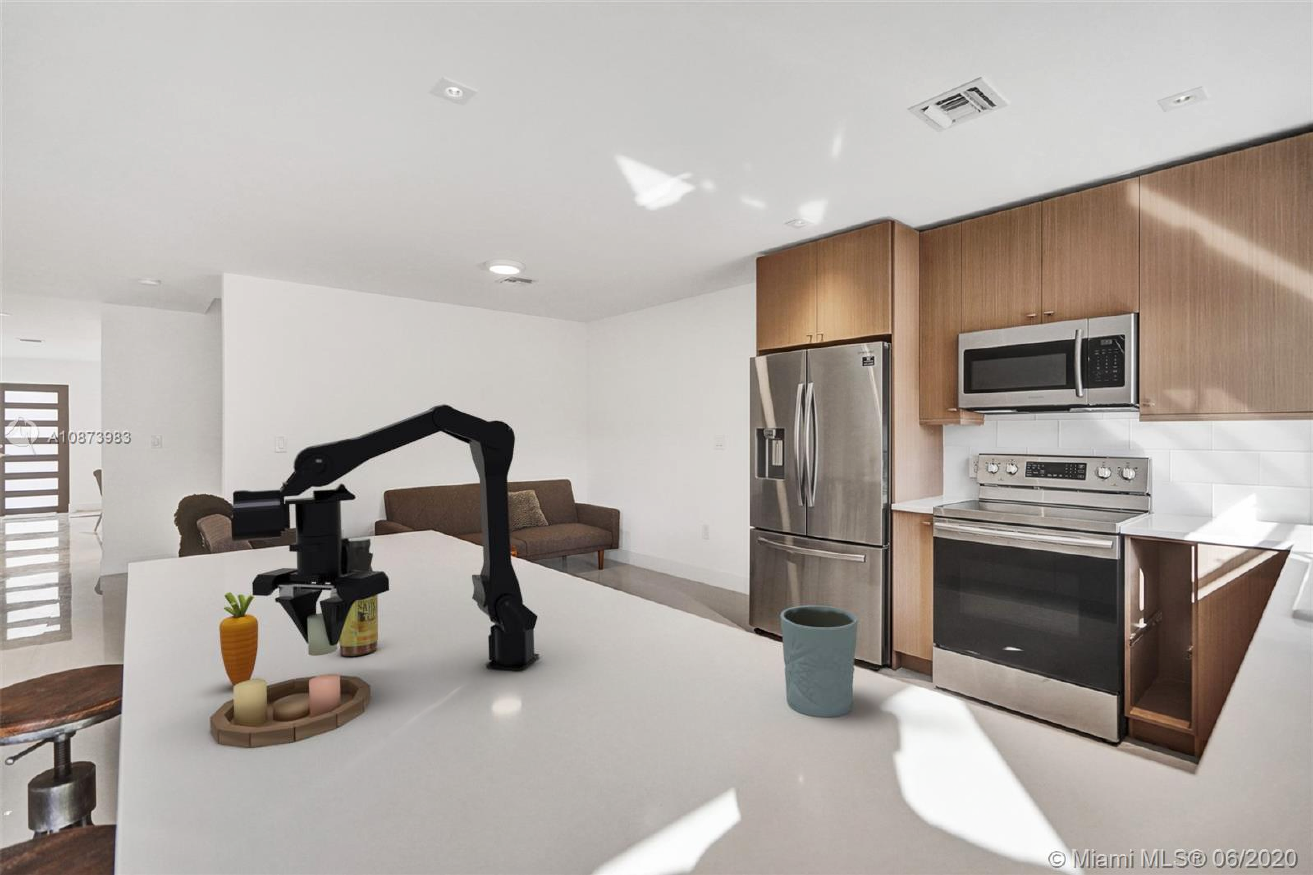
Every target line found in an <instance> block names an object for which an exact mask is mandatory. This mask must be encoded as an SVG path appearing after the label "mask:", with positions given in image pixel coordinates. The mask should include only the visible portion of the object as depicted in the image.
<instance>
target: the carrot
mask: <svg viewBox="0 0 1313 875" xmlns="http://www.w3.org/2000/svg"><path fill="white" fill-rule="evenodd" d="M254 596H255V595H253V594H249V595H248V596H247V598H246V597H245V595H244V594H238V595H237V599H238V601H237V599H236V598H235V596H234V595H233V593H232V592H231V591H230V592H226V593H225V594H224V598H225V599H226V601H227V602H228V603H229V604H230V606H231V607H230V606H224V607H223V609H224V610H225V611H226V612H228V613H229V614H231V616H229V617H227V618H224V619H223V620H221V621H220V623H219V643H220V654H221V658H222V662H223V665H224V669H225V673H226V676H227V677H228V679H229V681H230V683H231V684H232V686H233V687H234V686H235V685H236V684H238V683H241V682H244V681H247V680H251V678H252V675H253V673H254V670H255V665H256V662H257V655H258V648H259V647H258V646H259V645H258V644H259V622H258V618H256V616H255V615H253V614H251V613H249V614H247V611H248V608H249V606H250V605H251V602H252V601H253V599H254V598H255V597H254ZM238 602H239V603H238Z"/></svg>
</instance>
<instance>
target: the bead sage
mask: <svg viewBox="0 0 1313 875" xmlns="http://www.w3.org/2000/svg"><path fill="white" fill-rule="evenodd" d="M307 623H308V644H307V649H308V650H307V652H308V655H309V656H313V657H314V656H316V657H317V656H324V655H329V654H333V653H334V652H336V651H337V650H338V644H336V645H334V646H331V645H330V643H329V640H328V637H327V633H326V629H325V624H324V620H323V615H322V612H319V613H316V614H314V615H311V616H309V617H308V618H307Z"/></svg>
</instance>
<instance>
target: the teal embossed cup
mask: <svg viewBox="0 0 1313 875" xmlns="http://www.w3.org/2000/svg"><path fill="white" fill-rule="evenodd" d="M858 622H859V621H858V617H857V616H856V615H855V613H853V612H851V611H849V610H845V609H842V608H839V607H834V606H826V605H814V604H813V605H799V606H792V607H789V608H786V609H784V610H782V611H781V613H780V627H781V634H782V635H781V636H782V649H783V650H782V651H783V662H784V665H785V666H784V676H785V678H784V680H785V688H786V689H785V690H786V691H785V692H786V695H785V696H786V701H787V705H788V706H789V708H791V709H792V710H794V711H795V712H797V713H799V714H802V715H805V716H810V717H814V718H815V717H816V718H836V717H841V716H844V715H845V714H848V713H850V711H851V710H852V708H853V700H854V699H853V697H854V689H853V687H854V686H853V685H854V684H853V683H854V673H855V666H854V663H855V654H856V645H857V635H858V634H857V633H858Z"/></svg>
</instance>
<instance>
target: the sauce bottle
mask: <svg viewBox="0 0 1313 875" xmlns="http://www.w3.org/2000/svg"><path fill="white" fill-rule="evenodd" d="M348 540H349V541H350V548H351V549H357V550H361V551H365V552H369V553H370V548H371V544H372V543H371V538H369V537H354V538H348ZM370 571H374V570H373V568H372V566H371V567H370ZM353 574H355V573H353ZM348 575H351V574H345V575H343V577H345V576H348ZM378 595H379V594H378ZM378 595H375V596H372V597H369V598H367V599H364V600H356V601H355V602H354V604H353V605H352V607H351V609H350V611H349V613H348V616H347V618H346V621H345V624H344V627H343V630H342V633H341V636H340V639H339V642H338V644H339V652H340V655H342V656H346V657H356V656H363V655H366V654H369V653H372V652H374V651H375V650H376V649H377V646H378V641H379V618H378V616H379V609H378V608H379V607H378V606H379V605H378V604H379V603H378V602H379V601H378V599H379V598H378Z"/></svg>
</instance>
